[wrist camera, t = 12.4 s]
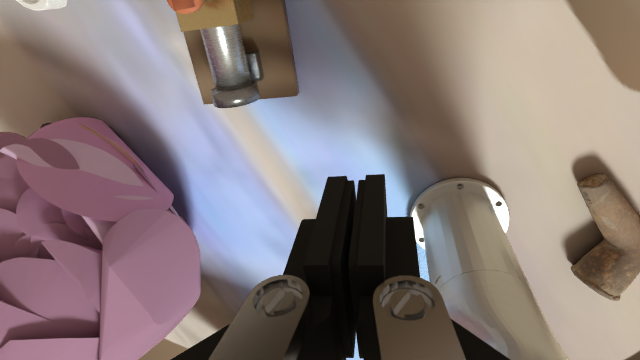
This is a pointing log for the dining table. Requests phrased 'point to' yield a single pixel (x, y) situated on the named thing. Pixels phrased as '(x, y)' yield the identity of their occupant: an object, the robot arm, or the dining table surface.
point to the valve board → (257, 35)
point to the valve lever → (185, 5)
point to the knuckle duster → (43, 4)
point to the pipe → (610, 239)
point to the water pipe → (227, 50)
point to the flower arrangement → (88, 248)
